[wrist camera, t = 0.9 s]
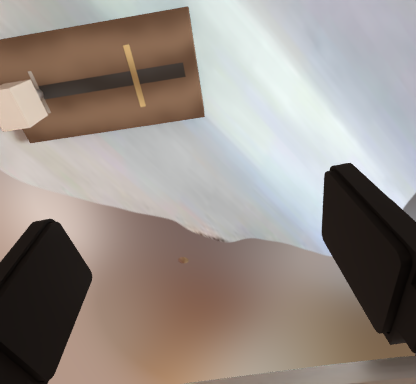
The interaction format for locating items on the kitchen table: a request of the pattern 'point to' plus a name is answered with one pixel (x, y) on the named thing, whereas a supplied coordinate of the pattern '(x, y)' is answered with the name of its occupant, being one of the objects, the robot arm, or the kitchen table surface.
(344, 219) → the robot arm
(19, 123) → the block
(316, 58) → the kitchen table surface
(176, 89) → the control board
